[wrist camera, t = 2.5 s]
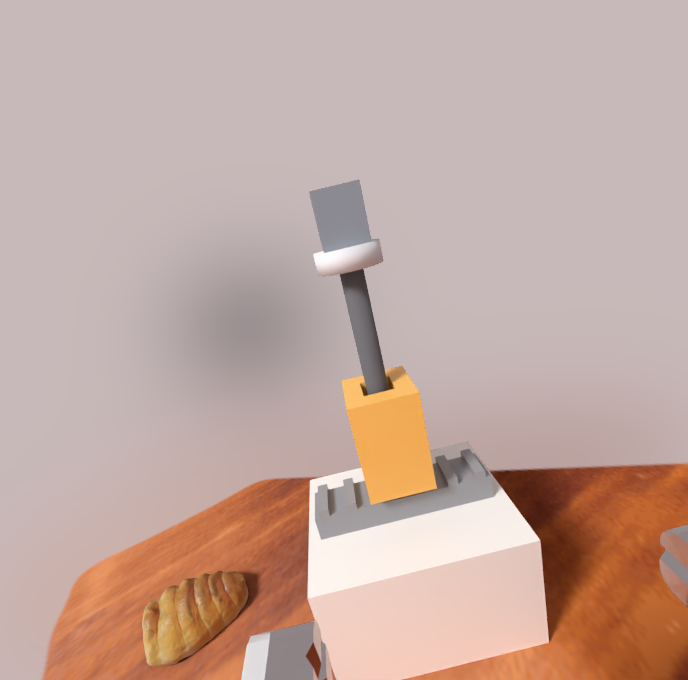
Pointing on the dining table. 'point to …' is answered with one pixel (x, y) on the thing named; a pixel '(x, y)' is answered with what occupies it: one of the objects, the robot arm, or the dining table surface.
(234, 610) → the pastry
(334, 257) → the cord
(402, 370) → the sleeve
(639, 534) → the dining table surface
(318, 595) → the comb base
